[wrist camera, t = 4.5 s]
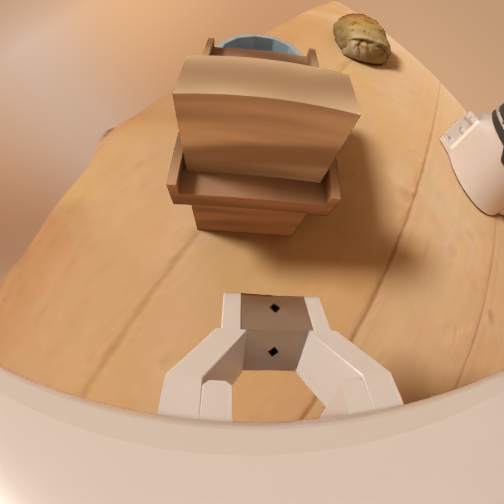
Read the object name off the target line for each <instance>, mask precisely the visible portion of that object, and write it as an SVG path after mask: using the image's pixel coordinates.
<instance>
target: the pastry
mask: <svg viewBox="0 0 504 504" xmlns="http://www.w3.org/2000/svg"><path fill="white" fill-rule="evenodd" d="M333 32H334V35H335V40H336V43H337V44H338V46H339V47H340V48H341V49H342V53H343V55H345V56H346V57H349V58H352V59H355V60H358V61H362V62H367V63H372V64H383V63H384V61H385V60H386V59H388V58H389V57H390V45H389V42H388V40H387V38H386V34H385V31H384V29H383V28H382V27H381V26H380V25H379V23H378V22H377V21H375V20H373V19H372V18H369V17H367V16H366V15H364V14H347V15H345V16H342V17H341V18H339V20H338V21H337V22H336V23H335V24H334V25H333Z"/></svg>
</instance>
